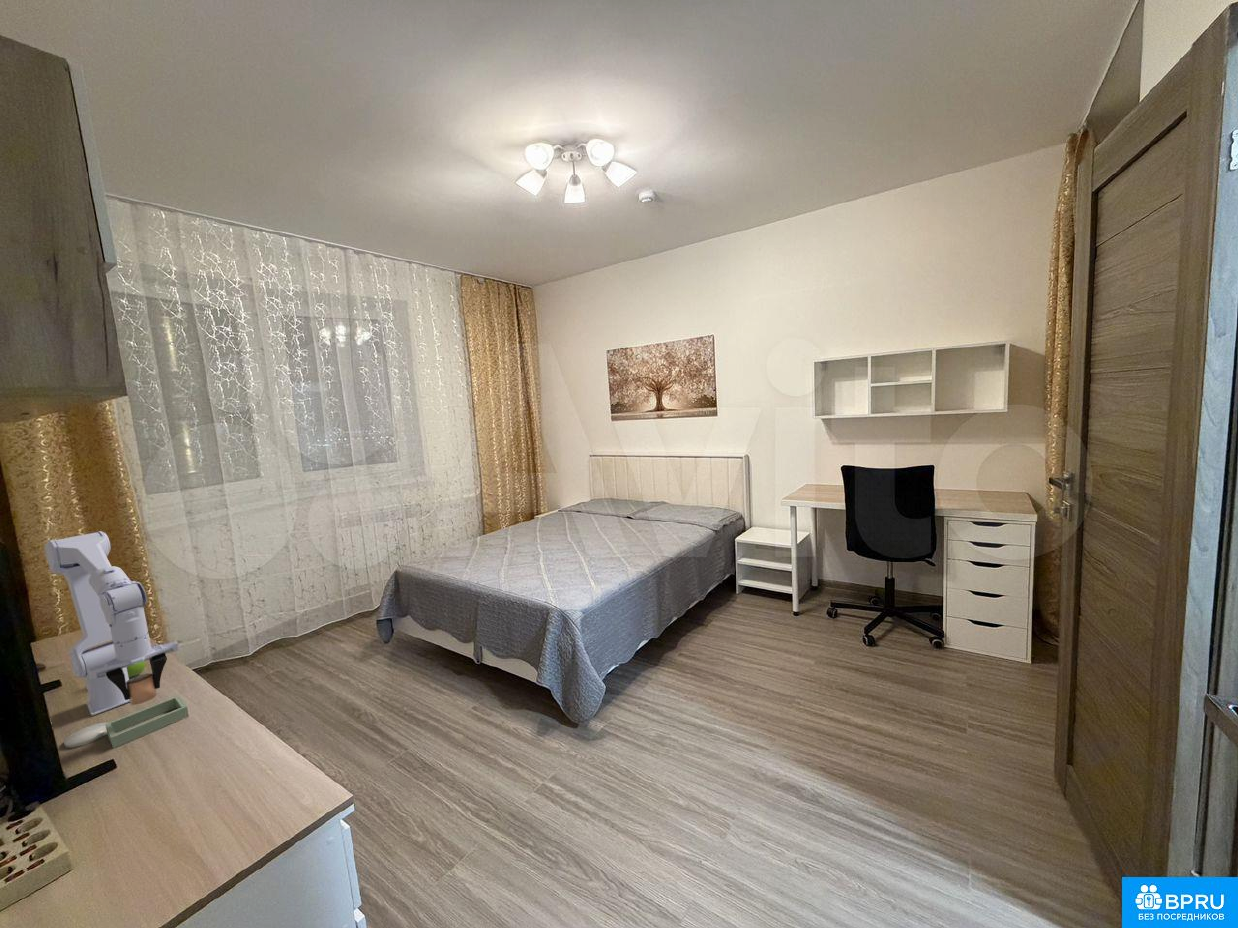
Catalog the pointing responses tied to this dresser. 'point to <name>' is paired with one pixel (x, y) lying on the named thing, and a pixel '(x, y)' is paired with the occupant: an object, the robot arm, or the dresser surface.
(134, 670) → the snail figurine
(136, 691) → the terracotta pot
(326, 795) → the dresser surface
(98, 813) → the dresser surface
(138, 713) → the box
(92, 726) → the pale grey saucer
